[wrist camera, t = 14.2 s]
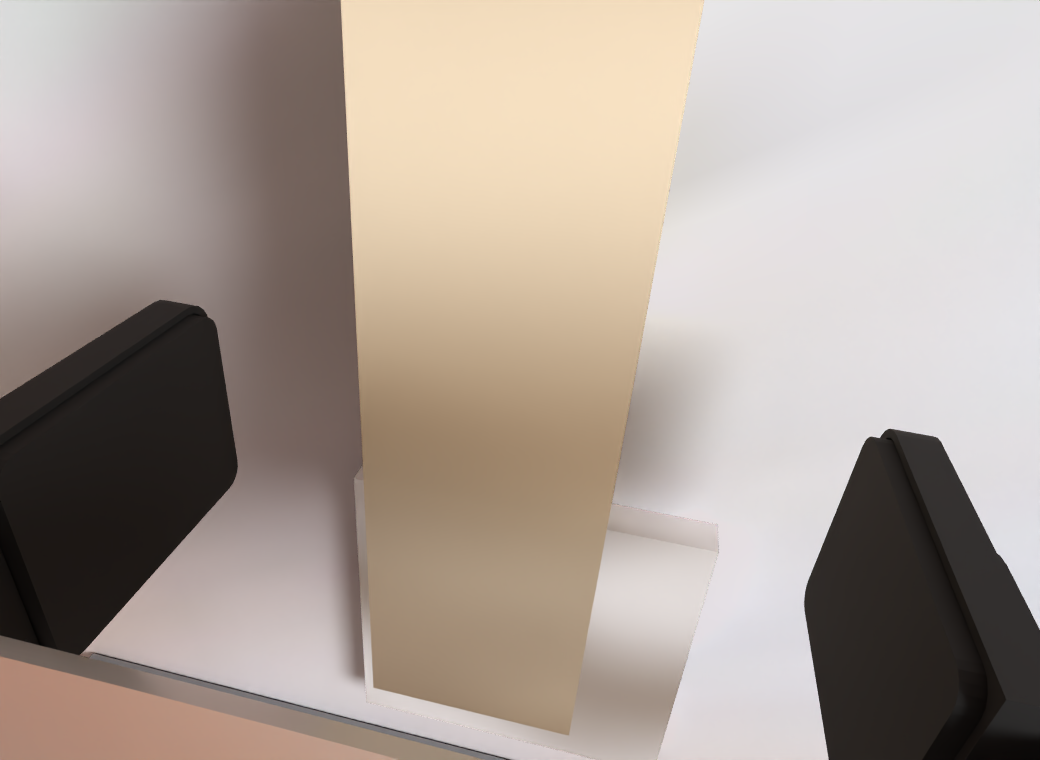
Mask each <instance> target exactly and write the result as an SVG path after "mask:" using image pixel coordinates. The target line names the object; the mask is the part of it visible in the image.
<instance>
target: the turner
mask: <svg viewBox="0 0 1040 760" xmlns="http://www.w3.org/2000/svg"><path fill="white" fill-rule="evenodd" d="M703 4H704V0H341V17H342V38H343V59H344V80H345V101H346V122H347V143H348V164H349V185H350V207H351V228H352V249H353V270H354V291H355V312H356V333H357V354H358V375H359V396H360V417H361V438H362V459H363V465H362V467H361V468H360V470H359V471H358V473H357V474H356V476H355V477H354V493H355V511H356V529H357V546H358V564H359V582H360V600H361V617H362V635H363V653H364V671H365V688H366V702H367V703H371V704H375V705H379V706H383V707H387V708H391V709H395V710H399V711H403V712H407V713H411V714H415V715H419V716H423V717H427V718H431V719H435V720H439V721H443V722H447V723H451V724H455V725H459V726H463V727H467V728H471V729H475V730H479V731H483V732H487V733H491V734H495V735H499V736H503V737H507V738H511V739H515V740H519V741H523V742H527V743H531V744H536V745H540V746H544V747H548V748H552V749H556V750H560V751H564V752H568V753H572V754H576V755H580V756H584V757H588V758H592V759H596V760H657V758H658V755H659V751H660V748H661V745H662V741H663V738H664V734H665V731H666V728H667V724H668V721H669V718H670V714H671V711H672V708H673V704H674V701H675V698H676V694H677V691H678V688H679V684H680V681H681V677H682V674H683V671H684V667H685V664H686V661H687V657H688V654H689V651H690V647H691V644H692V641H693V637H694V634H695V630H696V627H697V624H698V620H699V617H700V614H701V610H702V607H703V604H704V600H705V597H706V594H707V590H708V587H709V584H710V580H711V577H712V573H713V570H714V567H715V563H716V560H717V557H718V553H719V543H718V524H713V523H708V522H703V521H698V520H693V519H688V518H682V517H677V516H672V515H667V514H662V513H657V512H652V511H647V510H642V509H637V508H632V507H627V506H622V505H617V504H612V499H613V493H614V488H615V482H616V477H617V472H618V466H619V461H620V455H621V450H622V444H623V439H624V434H625V428H626V423H627V417H628V412H629V406H630V401H631V395H632V390H633V385H634V379H635V374H636V368H637V363H638V357H639V352H640V347H641V341H642V336H643V330H644V325H645V319H646V314H647V309H648V303H649V298H650V292H651V287H652V281H653V276H654V271H655V265H656V260H657V254H658V249H659V243H660V238H661V232H662V227H663V222H664V216H665V211H666V205H667V200H668V194H669V189H670V184H671V178H672V173H673V167H674V162H675V156H676V151H677V146H678V140H679V135H680V129H681V124H682V118H683V113H684V107H685V102H686V97H687V91H688V86H689V80H690V75H691V69H692V64H693V59H694V53H695V48H696V42H697V37H698V31H699V26H700V21H701V15H702V10H703Z"/></svg>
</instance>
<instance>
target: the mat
mask: <svg viewBox="0 0 1040 760" xmlns="http://www.w3.org/2000/svg"><path fill="white" fill-rule="evenodd" d="M89 658H91V659H95V660H99V661H103V662H107V663H111V664H115V665H119V666H123V667H127V668H131V669H135V670H139V671H143V672H147V673H151V674H155V675H159V676H163V677H167V678H171V679H175V680H178V681H182V682H186V683H190V684H194V685H198V686H202V687H206V688H210V689H214V690H217V691H221V692H225V693H229V694H233V695H237V696H241V697H245V698H249V699H252V700H256V701H260V702H264V703H268V704H272V705H276V706H280V707H283V708H287V709H291V710H295V711H299V712H303V713H307V714H311V715H314V716H318V717H322V718H326V719H330V720H334V721H338V722H341V723H345V724H349V725H353V726H357V727H361V728H365V729H368V730H372V731H376V732H380V733H384V734H388V735H392V736H395V737H399V738H403V739H407V740H411V741H415V742H419V743H422V744H426V745H430V746H434V747H438V748H442V749H446V750H449V751H453V752H457V753H461V754H465V755H468V756H472V757H476V758H480V759H483V760H506V759H502V758H498V757H494V756H490V755H487V754H483V753H479V752H475V751H471V750H467V749H463V748H459V747H456V746H452V745H448V744H444V743H440V742H436V741H432V740H428V739H424V738H421V737H417V736H413V735H409V734H405V733H401V732H397V731H393V730H389V729H386V728H382V727H378V726H374V725H370V724H366V723H362V722H358V721H355V720H351V719H347V718H343V717H339V716H335V715H331V714H327V713H323V712H320V711H316V710H312V709H308V708H304V707H300V706H296V705H292V704H288V703H285V702H281V701H277V700H273V699H269V698H265V697H261V696H257V695H254V694H250V693H246V692H242V691H238V690H234V689H230V688H226V687H222V686H219V685H215V684H211V683H207V682H203V681H199V680H195V679H191V678H187V677H184V676H180V675H176V674H172V673H168V672H164V671H160V670H156V669H153V668H149V667H145V666H141V665H137V664H133V663H129V662H125V661H121V660H118V659H114V658H110V657H106V656H102V655H98V654H94V653H93V654H92V655H91V656H90V657H89Z"/></svg>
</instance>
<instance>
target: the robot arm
mask: <svg viewBox="0 0 1040 760" xmlns="http://www.w3.org/2000/svg"><path fill="white" fill-rule="evenodd" d="M237 468H238V464H237V456H236V449H235V443H234V437H233V430H232V424H231V417H230V411H229V404H228V398H227V392H226V385H225V379H224V372H223V366H222V359H221V353H220V347H219V340H218V334H217V328H216V325H215V323H214V321H213V320H212V319H210V318H208V317H207V314H206V313H205V311H204V310H203V309H202V308H200V307H199V306H194V305H188V304H183V303H177V302H171V301H165V300H159V301H156V302H154V303H152V304H151V305H149V306H148V307H146V308H144V309H143V310H141V311H140V312H138V313H136V314H135V315H133V316H132V317H130V318H128V319H127V320H125V321H124V322H122V323H121V324H119V325H117V326H116V327H114V328H113V329H111V330H109V331H108V332H106V333H105V334H103V335H101V336H100V337H98V338H97V339H95V340H93V341H92V342H90V343H89V344H87V345H85V346H84V347H82V348H81V349H79V350H77V351H76V352H74V353H73V354H71V355H69V356H68V357H66V358H65V359H63V360H61V361H60V362H58V363H57V364H55V365H53V366H52V367H50V368H49V369H47V370H45V371H44V372H42V373H41V374H39V375H38V376H36V377H34V378H33V379H31V380H30V381H28V382H26V383H25V384H23V385H22V386H20V387H18V388H17V389H15V390H14V391H12V392H10V393H9V394H7V395H6V396H4V397H2V398H1V399H0V760H483V759H480V758H476V757H472V756H468V755H465V754H461V753H457V752H453V751H449V750H446V749H442V748H438V747H434V746H430V745H426V744H422V743H419V742H415V741H411V740H407V739H403V738H399V737H395V736H392V735H388V734H384V733H380V732H376V731H372V730H368V729H365V728H361V727H357V726H353V725H349V724H345V723H341V722H338V721H334V720H330V719H326V718H322V717H318V716H314V715H311V714H307V713H303V712H299V711H295V710H291V709H287V708H283V707H280V706H276V705H272V704H268V703H264V702H260V701H256V700H252V699H249V698H245V697H241V696H237V695H233V694H229V693H225V692H221V691H217V690H214V689H210V688H206V687H202V686H198V685H194V684H190V683H186V682H182V681H178V680H175V679H171V678H167V677H163V676H159V675H155V674H151V673H147V672H143V671H139V670H135V669H131V668H127V667H123V666H119V665H115V664H111V663H107V662H103V661H99V660H95V659H91V658H87V657H83V656H79V655H80V654H81V653H82V652H83V651H84V650H85V649H86V648H87V647H88V646H89V645H90V644H91V643H92V642H93V640H94V639H95V638H96V637H97V636H98V635H99V634H100V633H101V631H102V630H103V629H104V628H105V627H106V626H107V625H108V624H109V622H110V621H111V620H112V619H113V618H114V617H115V616H116V615H117V613H118V612H119V611H120V610H121V609H122V608H123V607H124V606H125V605H126V603H127V602H128V601H129V600H130V599H131V598H132V597H133V596H134V594H135V593H136V592H137V591H138V590H139V589H140V588H141V587H142V585H143V584H144V583H145V582H146V581H147V580H148V579H149V578H150V576H151V575H152V574H153V573H154V572H155V571H156V570H157V569H158V568H159V566H160V565H161V564H162V563H163V562H164V561H165V560H166V559H167V557H168V556H169V555H170V554H171V553H172V552H173V551H174V550H175V548H176V547H177V546H178V545H179V544H180V543H181V542H182V541H183V539H184V538H185V537H186V536H187V535H188V534H189V533H190V532H191V531H192V529H193V528H194V527H195V526H196V525H197V524H198V523H199V522H200V520H201V519H202V518H203V517H204V516H205V515H206V514H207V513H208V511H209V510H210V509H211V508H212V507H213V506H214V505H215V504H216V502H217V501H218V500H219V499H220V498H221V497H222V496H223V495H224V494H225V492H226V491H227V490H228V489H229V488H230V486H231V485H232V484H233V482H234V480H235V477H236V474H237ZM804 607H805V615H806V621H807V628H808V634H809V640H810V646H811V652H812V659H813V665H814V671H815V677H816V683H817V689H818V696H819V702H820V708H821V714H822V720H823V727H824V733H825V739H826V745H827V751H828V757H829V760H1040V630H1039V628H1038V626H1037V624H1036V622H1035V620H1034V618H1033V616H1032V614H1031V612H1030V610H1029V608H1028V606H1027V604H1026V602H1025V600H1024V598H1023V596H1022V594H1021V592H1020V590H1019V588H1018V586H1017V584H1016V582H1015V580H1014V578H1013V576H1012V574H1011V572H1010V571H1009V569H1008V567H1007V565H1006V563H1005V562H1004V561H1003V559H1002V558H1001V556H1000V555H998V554H997V553H996V551H995V549H994V547H993V545H992V543H991V541H990V539H989V537H988V535H987V533H986V531H985V529H984V527H983V525H982V523H981V521H980V519H979V517H978V515H977V513H976V511H975V509H974V507H973V505H972V503H971V501H970V499H969V497H968V495H967V493H966V491H965V489H964V487H963V485H962V483H961V481H960V479H959V477H958V475H957V473H956V471H955V469H954V467H953V465H952V463H951V461H950V459H949V457H948V455H947V453H946V451H945V449H944V447H943V445H942V443H941V442H940V440H939V439H938V438H936V437H933V436H928V435H922V434H916V433H911V432H905V431H899V430H894V429H888V430H886V431H885V432H884V433H883V434H882V435H881V437H880V438H876V437H869V438H868V439H867V440H866V441H865V443H864V445H863V447H862V449H861V452H860V454H859V457H858V459H857V462H856V464H855V467H854V469H853V471H852V474H851V476H850V479H849V481H848V484H847V486H846V489H845V491H844V494H843V496H842V499H841V501H840V504H839V506H838V509H837V511H836V514H835V516H834V518H833V521H832V523H831V526H830V528H829V531H828V533H827V536H826V538H825V541H824V543H823V546H822V548H821V551H820V553H819V556H818V558H817V561H816V563H815V565H814V568H813V570H812V573H811V575H810V578H809V580H808V583H807V587H806V591H805V600H804Z"/></svg>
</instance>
